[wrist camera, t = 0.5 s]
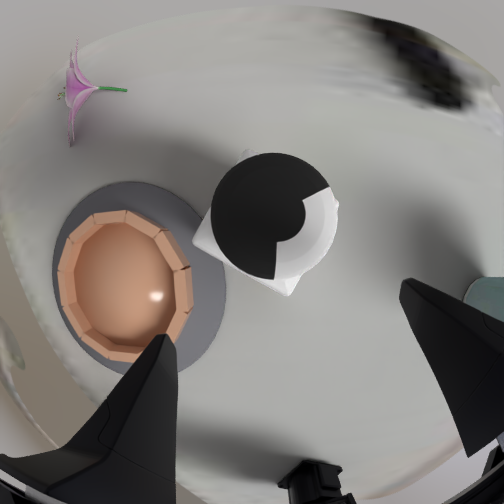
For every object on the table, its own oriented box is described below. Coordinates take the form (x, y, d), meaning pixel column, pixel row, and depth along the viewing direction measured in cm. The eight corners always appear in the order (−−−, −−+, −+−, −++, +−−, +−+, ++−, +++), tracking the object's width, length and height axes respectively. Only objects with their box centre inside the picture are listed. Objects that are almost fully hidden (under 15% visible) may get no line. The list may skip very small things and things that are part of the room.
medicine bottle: (205, 242, 24) (167, 244, 12) (245, 172, 24) (247, 111, 12) (276, 282, 24) (306, 321, 12) (315, 212, 24) (376, 188, 12)
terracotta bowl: (159, 376, 25) (153, 387, 22) (58, 307, 24) (47, 311, 22) (219, 256, 24) (215, 259, 22) (99, 190, 24) (87, 187, 21)
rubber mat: (176, 406, 25) (175, 408, 25) (40, 312, 25) (38, 313, 24) (265, 242, 24) (265, 242, 24) (95, 154, 24) (93, 153, 23)
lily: (102, 59, 24) (40, 52, 16) (162, 37, 19) (84, 14, 11) (90, 145, 28) (24, 151, 20) (144, 146, 24) (57, 150, 16)
